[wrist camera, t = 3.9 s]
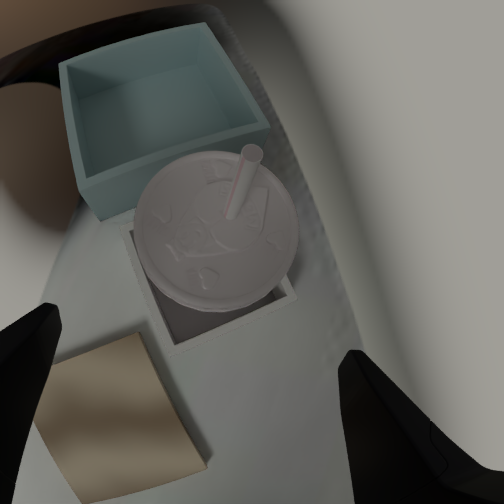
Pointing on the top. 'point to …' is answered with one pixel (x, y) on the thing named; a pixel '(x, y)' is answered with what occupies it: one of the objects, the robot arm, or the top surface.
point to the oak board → (114, 423)
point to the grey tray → (283, 298)
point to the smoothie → (216, 230)
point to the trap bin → (152, 111)
